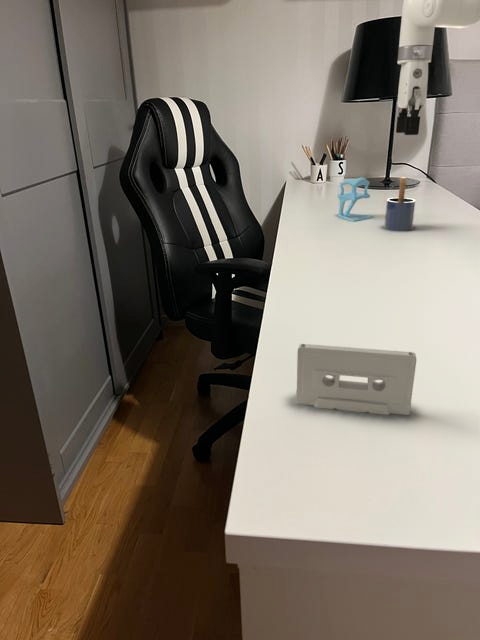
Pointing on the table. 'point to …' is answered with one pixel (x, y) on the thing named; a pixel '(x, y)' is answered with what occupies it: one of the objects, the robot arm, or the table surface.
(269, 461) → the table surface
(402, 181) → the brush
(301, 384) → the cassette
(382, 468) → the table surface
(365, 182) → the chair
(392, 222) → the pencil cup
